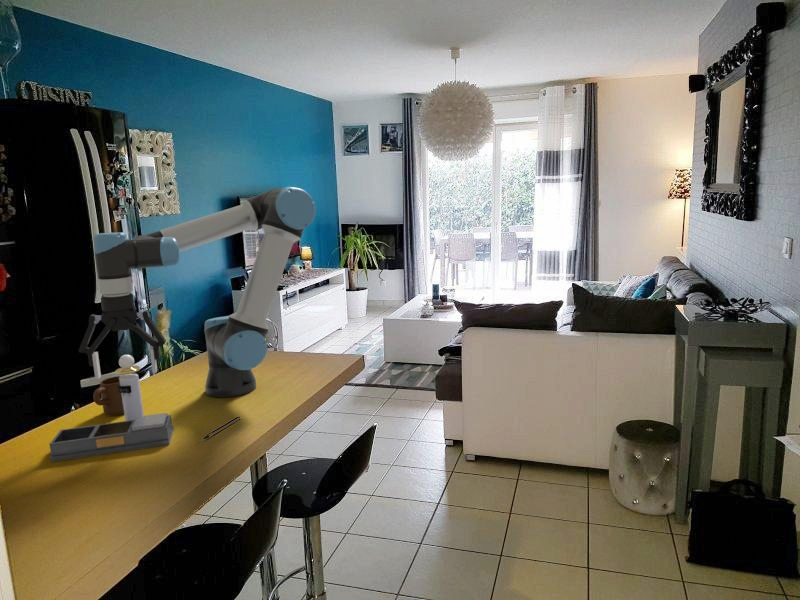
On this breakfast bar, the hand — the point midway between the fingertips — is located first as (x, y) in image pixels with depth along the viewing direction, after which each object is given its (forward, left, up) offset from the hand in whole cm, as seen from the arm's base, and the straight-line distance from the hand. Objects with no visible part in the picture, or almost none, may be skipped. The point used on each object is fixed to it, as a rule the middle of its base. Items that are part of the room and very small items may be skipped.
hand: (127, 374), depth 150 cm
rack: (+3, +10, -15) cm, 18 cm away
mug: (+8, -13, -15) cm, 21 cm away
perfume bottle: (0, 0, -15) cm, 15 cm away
